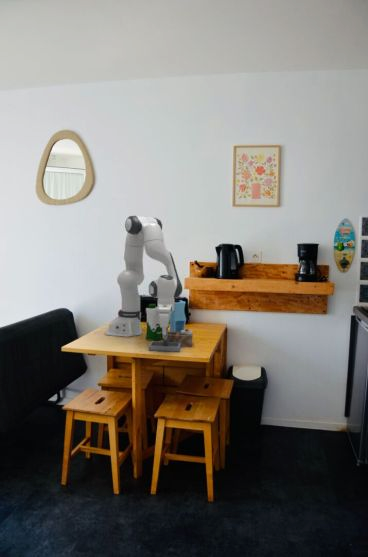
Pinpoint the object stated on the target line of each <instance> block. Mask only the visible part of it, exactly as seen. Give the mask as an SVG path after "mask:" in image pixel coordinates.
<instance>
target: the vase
mask: <svg viewBox="0 0 368 557" xmlns="http://www.w3.org/2000/svg"><path fill="white" fill-rule="evenodd" d="M185 307H186V301H185V300H184V301H183V300H179V302H175V301H174V310H173V311H172V313H171V318H170V322H169V332H181V330H185V328H186V327H185V326H186V321H187V317H186V313H185Z"/></svg>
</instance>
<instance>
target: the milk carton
mask: <svg viewBox="0 0 368 557" xmlns="http://www.w3.org/2000/svg"><path fill="white" fill-rule="evenodd" d="M145 313H146V334H145V340H149V341H157V342H158V341H159V340H160V341H161V340H163V334H162V333H163V331H162V328H161V327H160V321H159V312H158V309H157V306H156V303H149V304H148V307H146V308H145Z"/></svg>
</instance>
